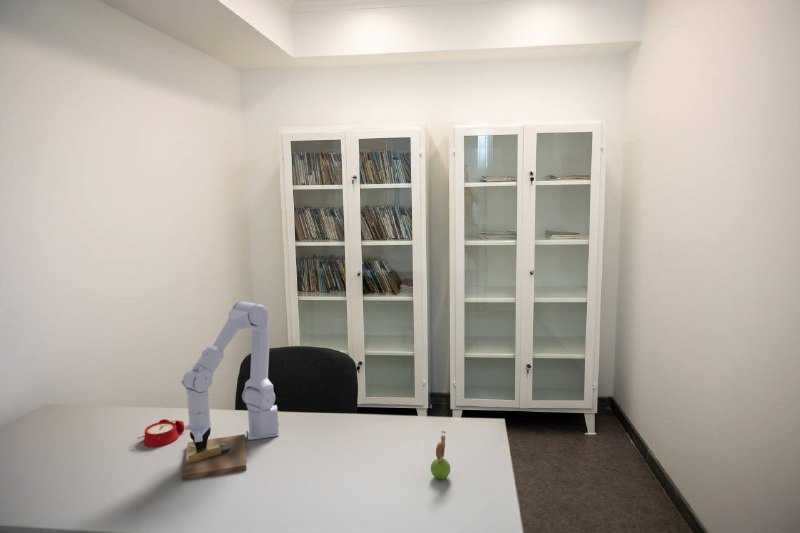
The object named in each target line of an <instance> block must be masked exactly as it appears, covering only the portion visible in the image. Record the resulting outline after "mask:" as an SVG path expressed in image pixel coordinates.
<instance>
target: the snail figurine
mask: <svg viewBox="0 0 800 533" xmlns="http://www.w3.org/2000/svg"><path fill="white" fill-rule="evenodd" d="M446 433H447V432H446V430H445V431H443V430H441V436H440V441H439V442H438V443H437V445H436V448H435V456H436V459H433V461H432V462H431V465H430V473H431V475H432V476H433V477H434V478H435V479H437V480H444V479H446V478H447V477H448V476H450V473H451V464H450V462H449V461H448V460H447V459H445V458H444V456H445V451H446V435H445V434H446Z"/></svg>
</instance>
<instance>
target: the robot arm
mask: <svg viewBox="0 0 800 533" xmlns="http://www.w3.org/2000/svg"><path fill="white" fill-rule="evenodd" d="M268 316H269V309H268V308H267V307H266V306H264V305H263V304H262V303H254V302H249V301H245V300H238V301H236V302H235V303H234V305H232V307H231V309H230V310H229V312H228V318H227V321H226V322H225V324H224V325H223V327H222V329H221V331H220V332H219V334H218V336H217V337H216V339H215V341H214V342H213V344H212V345H209V346H207V347H206V348H205V349H203V350H202V351H201V355H200V357H199V358H198V360H197V361H196V363H195V364H194V365H193V367H192V368H191V369H189V370H188V371H187V372H185V374H184V375H183V378H182V380H181V384H182V386H183V387H184V388H185V390H186V397H187V398H186V399H187V411H188V424H186V425H185V424H184V427H185V429H184V431H185V430H186V431H187V430H189V431H190V432H189V437H190V439H191V440H192V442H194V444H195V446H196V451H197V450H200V449H203V448H207V440H208V439H209V437H210V434H211V430H212V428H211V427H212V421H211V414H210V413H211V412H210V401H209V400H210V398H209V389H210V387H211V386H212V385H213V384H212V383H213V377H214V373H215V372H216V371H217V369H218V367H219V366H220V364H221V362H222V361H223V360H224V358H225V355H224V354H225V353H224V351H225V350H226V348H227V347H228V345H229V344H230V342H231V341H232V340H233V339H234V338H235V336H237V334H238V333H239V331H240V330H243V329H248V328H249V329H250V330H251V332H252V334H251V351H250V352H251V353H250V356H251V357H250V373H249V374H250V375H249V376H250V377H249V379H247V380H246V382H245V383H244V390H243V391H242V394H241V398H242V401H243V402H244V404H246V408H247V419H248V428H247V438H248V441H252V440H259V439H266V438H274V437H279V435H280V434H279V433H280V432H279V430H280V429H279V428H280V423H279V419H278V418H279V416H278V412H279V411H278V405H277V404H275V401H276V394H275V392H274V384H273V383H272V382H271V381H270V379H269V363H270V362H269V361H270V360H269V359H270V338H271V322H270V319H269V317H268ZM274 404H275V405H274Z"/></svg>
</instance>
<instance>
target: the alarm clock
mask: <svg viewBox="0 0 800 533" xmlns="http://www.w3.org/2000/svg"><path fill="white" fill-rule="evenodd" d="M177 431H178V432H177ZM181 431H182V432H181ZM179 432H181V434H183V433H184V432H185V423H184V421H183V420H171V421H170V420H169V419H166V418H162V419H161V420H159V421H158V422H156V423H152V424H150V425H148V426H147V427H146V428H145V429H144V435H143V436H140V437H137V439H138V440H140V439H141V438H143V440H142V443H143V445H145V446H147V447H148V448H152V447H162V446H165V445H169V444H171V443H173V442H175V441H177V440H178V439H179V436H180V434H179Z"/></svg>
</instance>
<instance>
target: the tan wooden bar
mask: <svg viewBox="0 0 800 533" xmlns="http://www.w3.org/2000/svg"><path fill="white" fill-rule="evenodd" d="M229 451H230V443H229V442H227V441H225V442H221V443H219V444H217V445H214V446H210V447H207V448H203V449H200V450H197V451H193V452H190V453H187V461H188V463H192V462H195V461H199V460H202V459H205V458H209V457H212V456H215V455H218V454H224V453H228V452H229Z"/></svg>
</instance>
